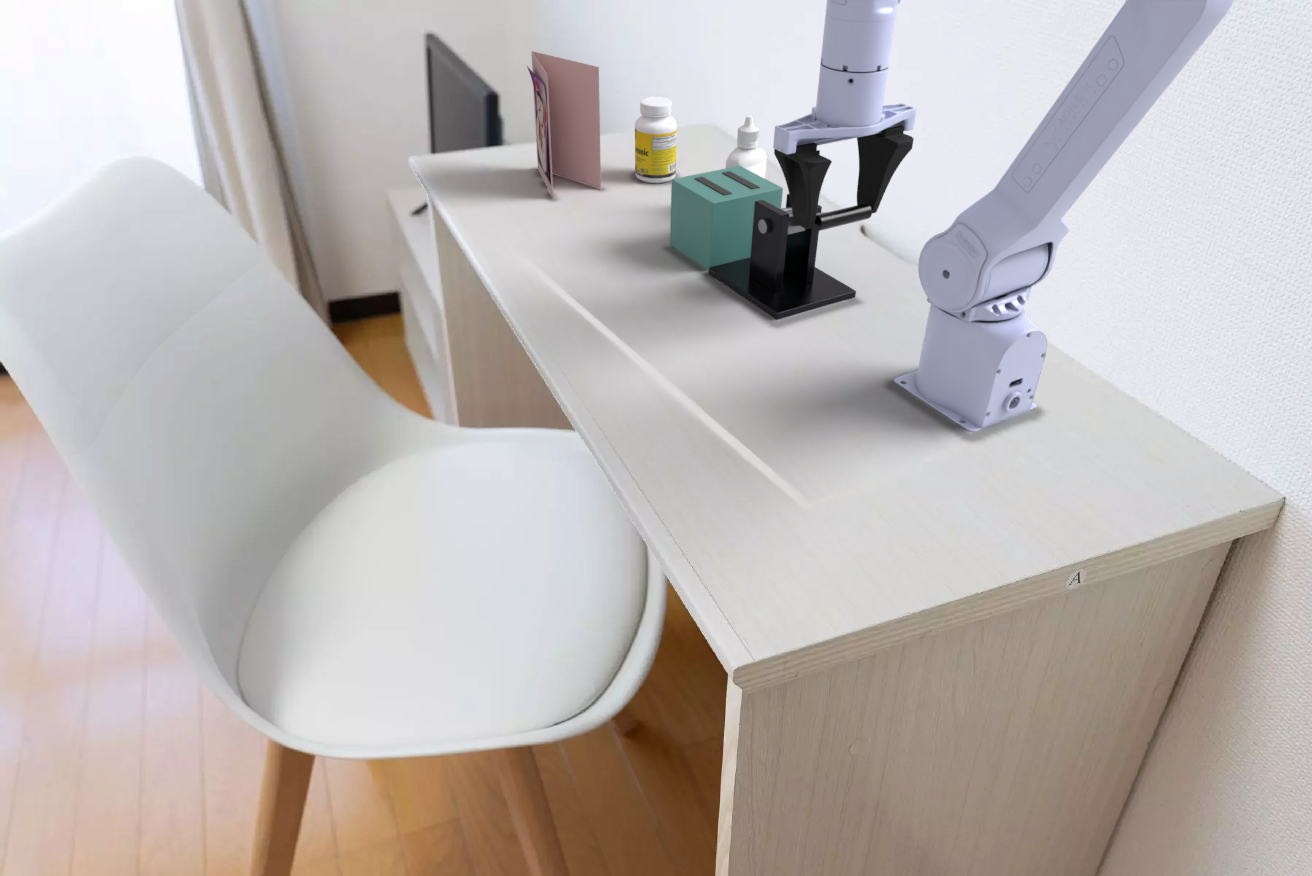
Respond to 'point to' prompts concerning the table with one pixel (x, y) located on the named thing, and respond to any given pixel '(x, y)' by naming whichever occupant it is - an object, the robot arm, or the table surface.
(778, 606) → the table surface
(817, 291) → the switch bracket
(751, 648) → the table surface
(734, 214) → the toaster
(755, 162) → the eye dropper bottle
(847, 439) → the table surface
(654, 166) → the supplement bottle
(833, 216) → the lever
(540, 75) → the greeting card
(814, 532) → the table surface
